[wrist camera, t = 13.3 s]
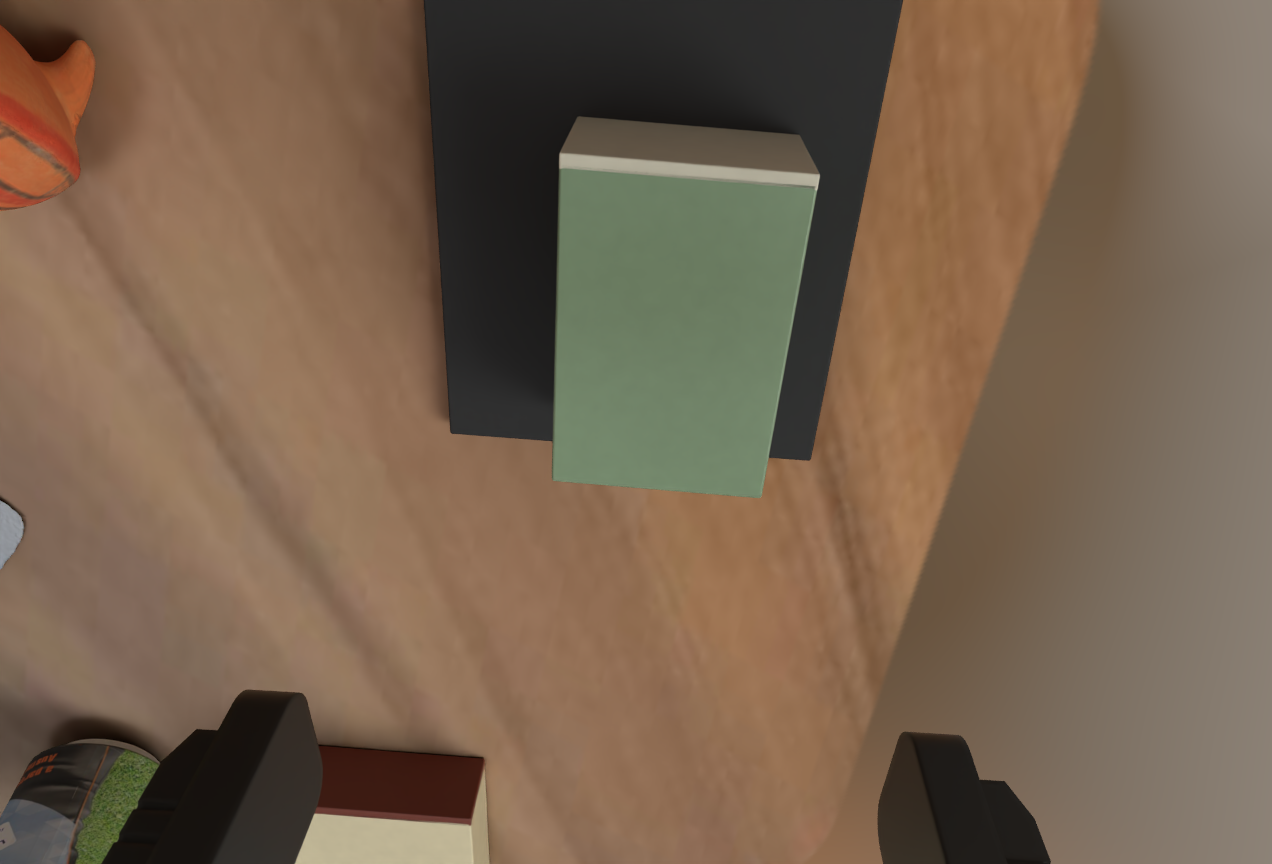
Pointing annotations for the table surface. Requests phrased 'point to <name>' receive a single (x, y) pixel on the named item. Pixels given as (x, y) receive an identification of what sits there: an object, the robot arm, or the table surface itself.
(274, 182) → the table surface
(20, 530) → the toy car
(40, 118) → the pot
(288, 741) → the robot arm
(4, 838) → the beverage can
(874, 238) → the table surface
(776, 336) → the top book
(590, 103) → the felt mat
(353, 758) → the bottom book
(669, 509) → the table surface
